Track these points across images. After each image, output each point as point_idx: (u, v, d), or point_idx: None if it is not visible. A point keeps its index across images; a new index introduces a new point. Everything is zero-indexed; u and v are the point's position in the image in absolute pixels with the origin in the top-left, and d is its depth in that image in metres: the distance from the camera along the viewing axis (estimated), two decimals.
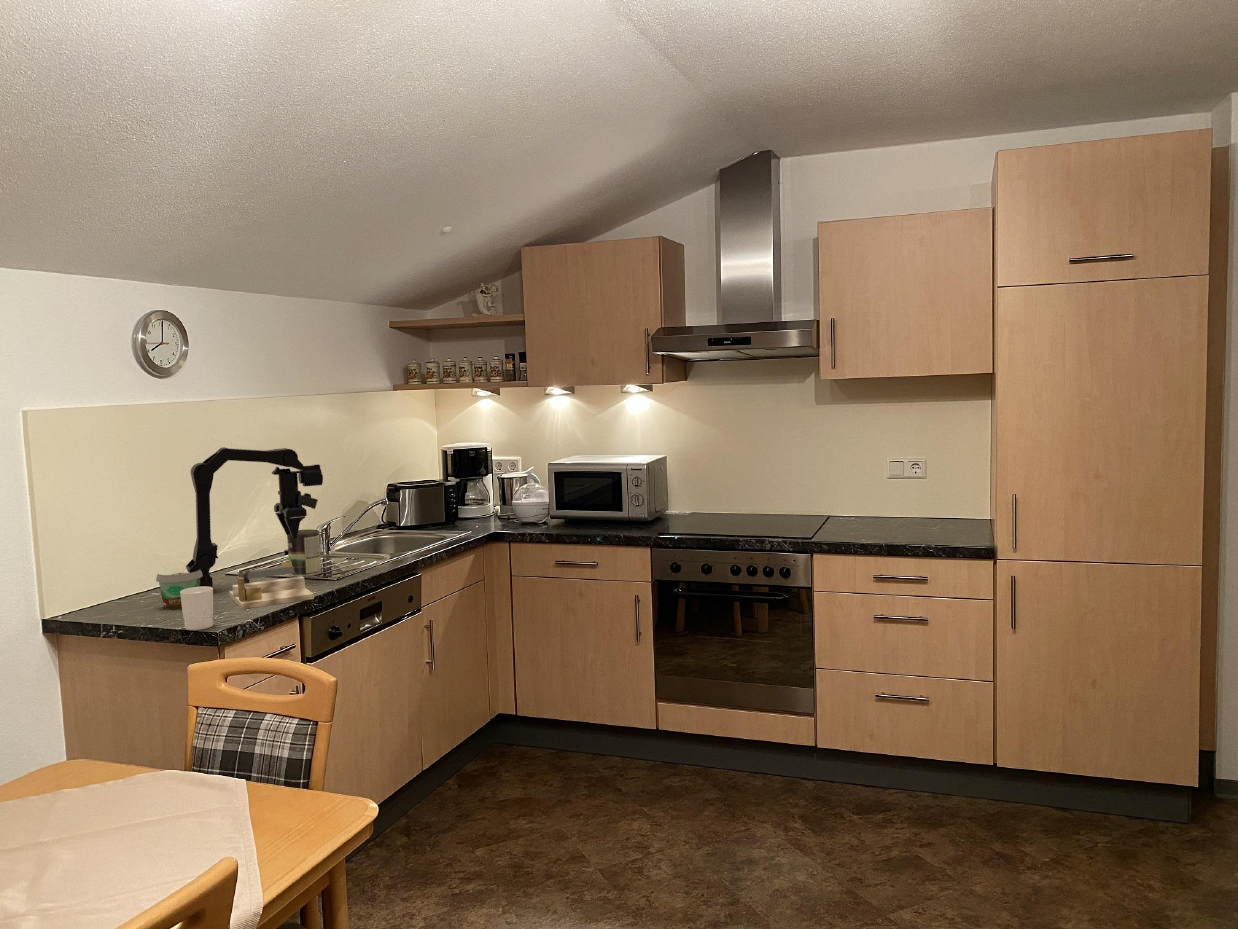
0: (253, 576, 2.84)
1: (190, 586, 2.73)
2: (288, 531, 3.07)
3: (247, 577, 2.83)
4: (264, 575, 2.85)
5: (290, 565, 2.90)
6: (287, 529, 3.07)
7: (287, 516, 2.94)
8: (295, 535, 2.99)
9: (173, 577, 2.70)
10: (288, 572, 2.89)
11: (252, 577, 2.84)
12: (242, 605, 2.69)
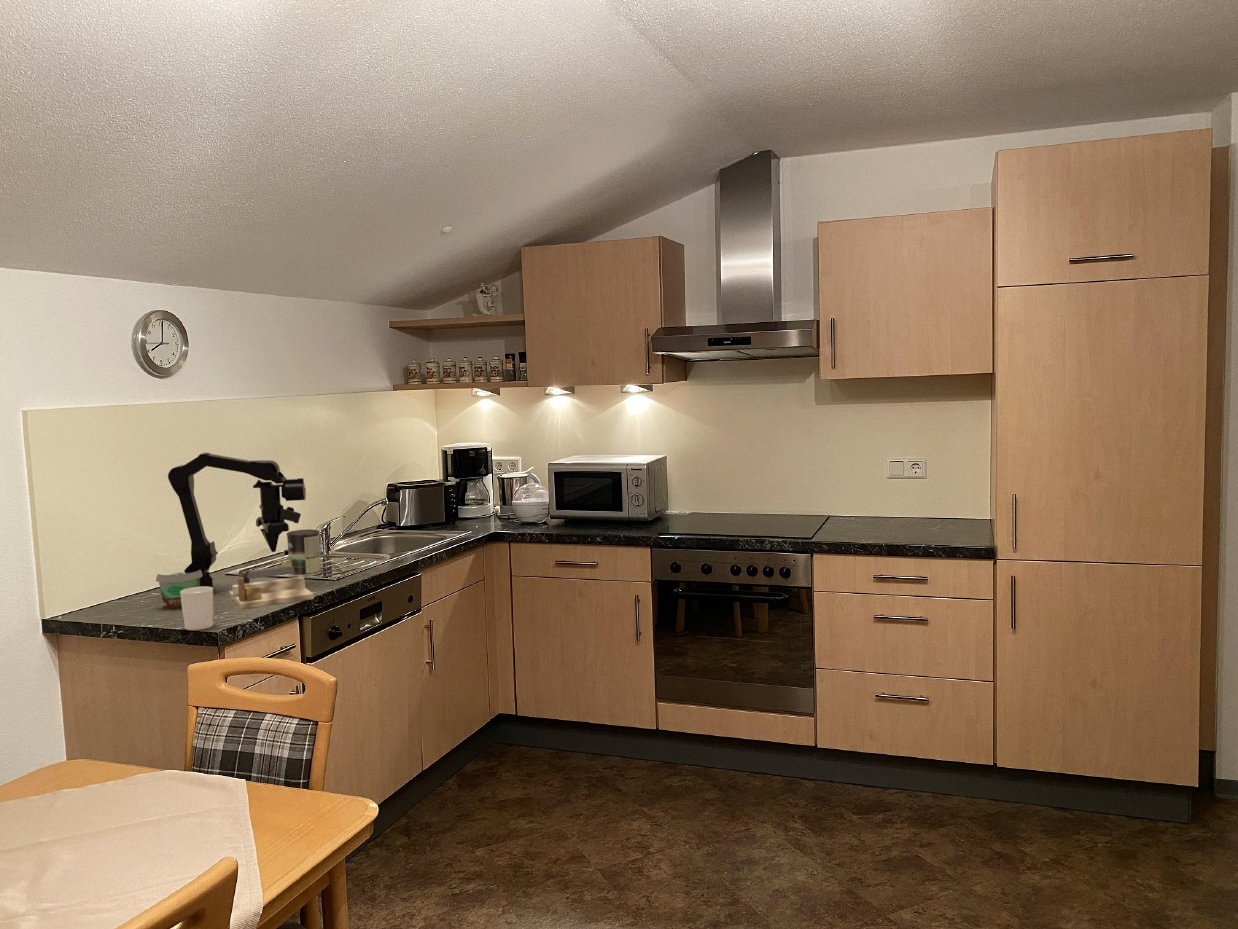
0: (253, 576, 2.84)
1: (190, 586, 2.73)
2: None
3: (247, 577, 2.83)
4: (264, 575, 2.85)
5: (290, 565, 2.90)
6: None
7: (268, 531, 2.84)
8: (274, 548, 2.94)
9: (173, 577, 2.70)
10: (288, 572, 2.89)
11: (252, 577, 2.84)
12: (242, 605, 2.69)
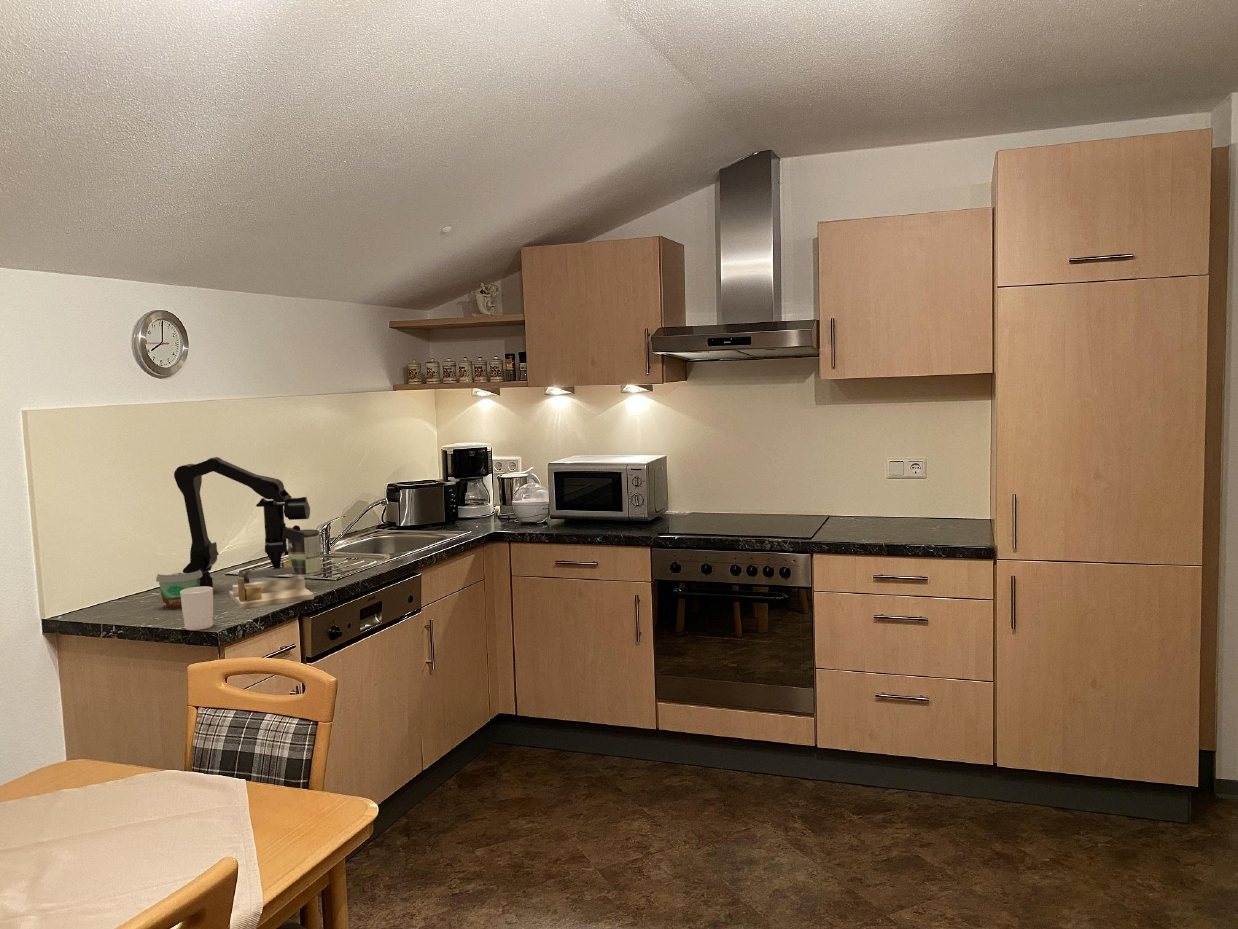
0: (253, 576, 2.84)
1: (190, 586, 2.73)
2: None
3: (247, 577, 2.83)
4: (264, 575, 2.85)
5: (290, 565, 2.90)
6: None
7: (266, 551, 2.82)
8: None
9: (173, 577, 2.70)
10: (288, 572, 2.89)
11: (252, 577, 2.84)
12: (242, 605, 2.69)
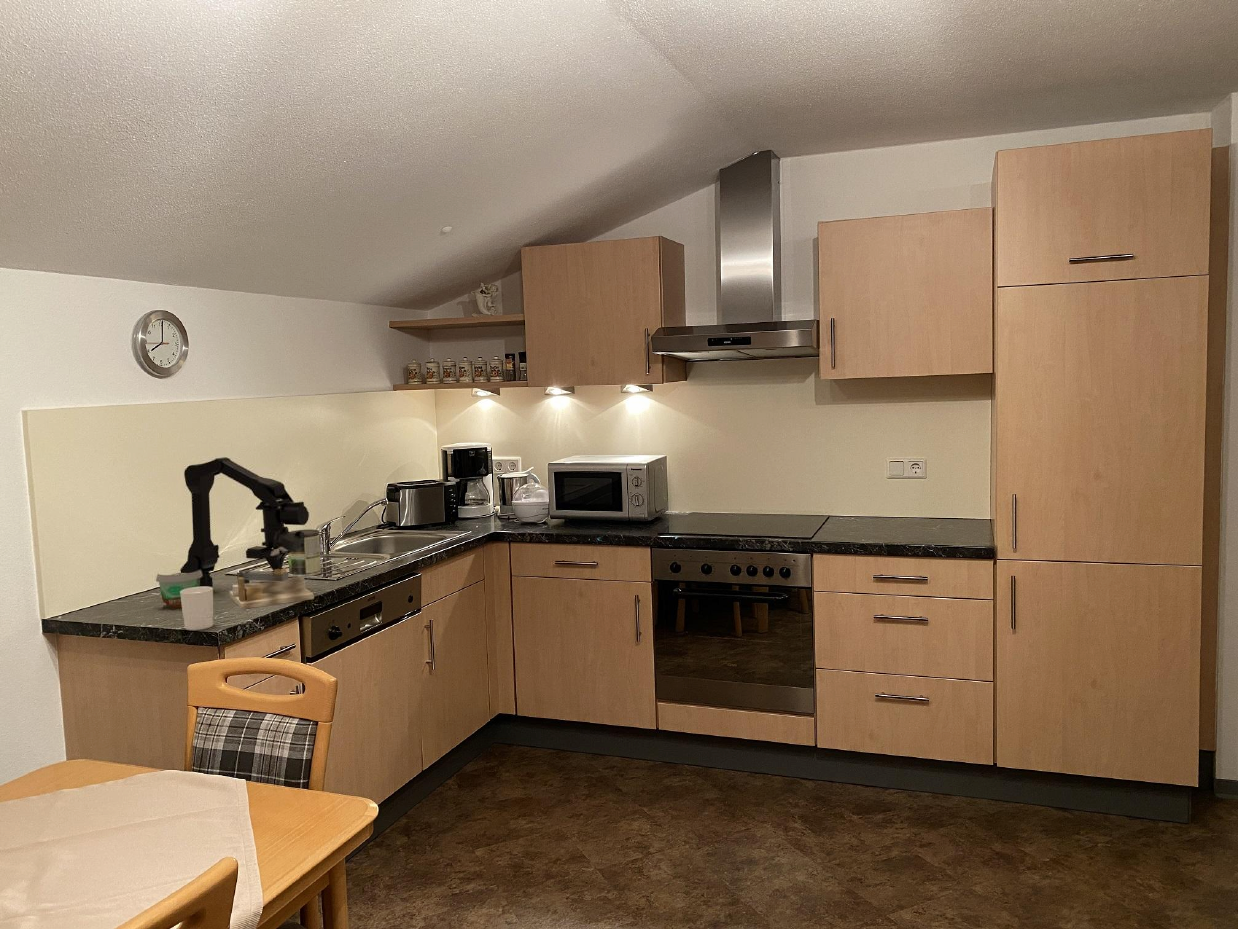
0: (248, 578, 2.82)
1: (190, 586, 2.73)
2: None
3: (242, 577, 2.82)
4: (257, 578, 2.81)
5: (280, 572, 2.79)
6: None
7: (246, 556, 2.75)
8: None
9: (173, 577, 2.70)
10: (277, 579, 2.79)
11: (247, 578, 2.82)
12: (242, 605, 2.69)
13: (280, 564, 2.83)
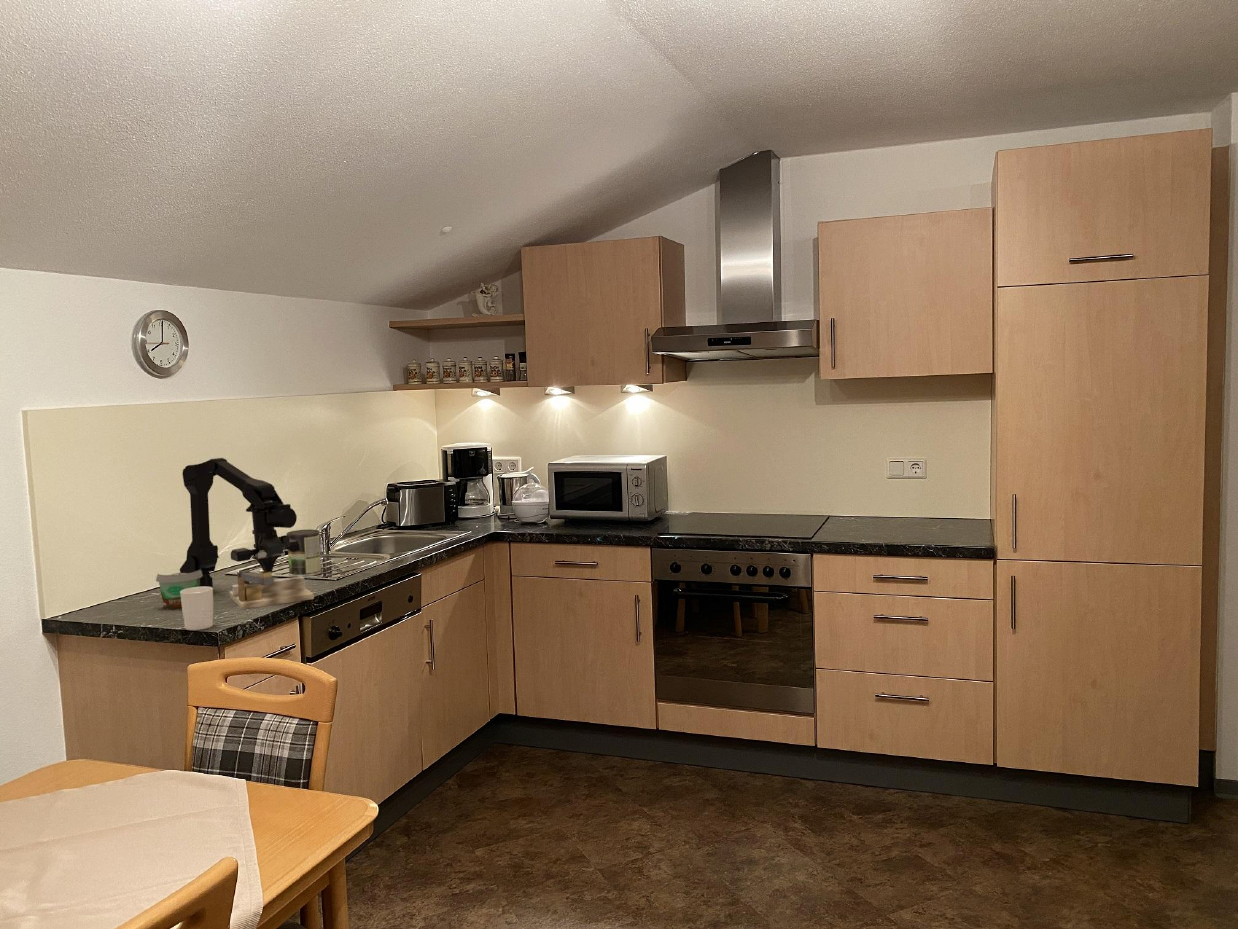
0: None
1: (190, 586, 2.73)
2: None
3: None
4: (248, 580, 2.79)
5: (263, 576, 2.74)
6: None
7: None
8: None
9: (173, 577, 2.70)
10: (261, 583, 2.75)
11: None
12: (242, 605, 2.69)
13: (269, 567, 2.78)
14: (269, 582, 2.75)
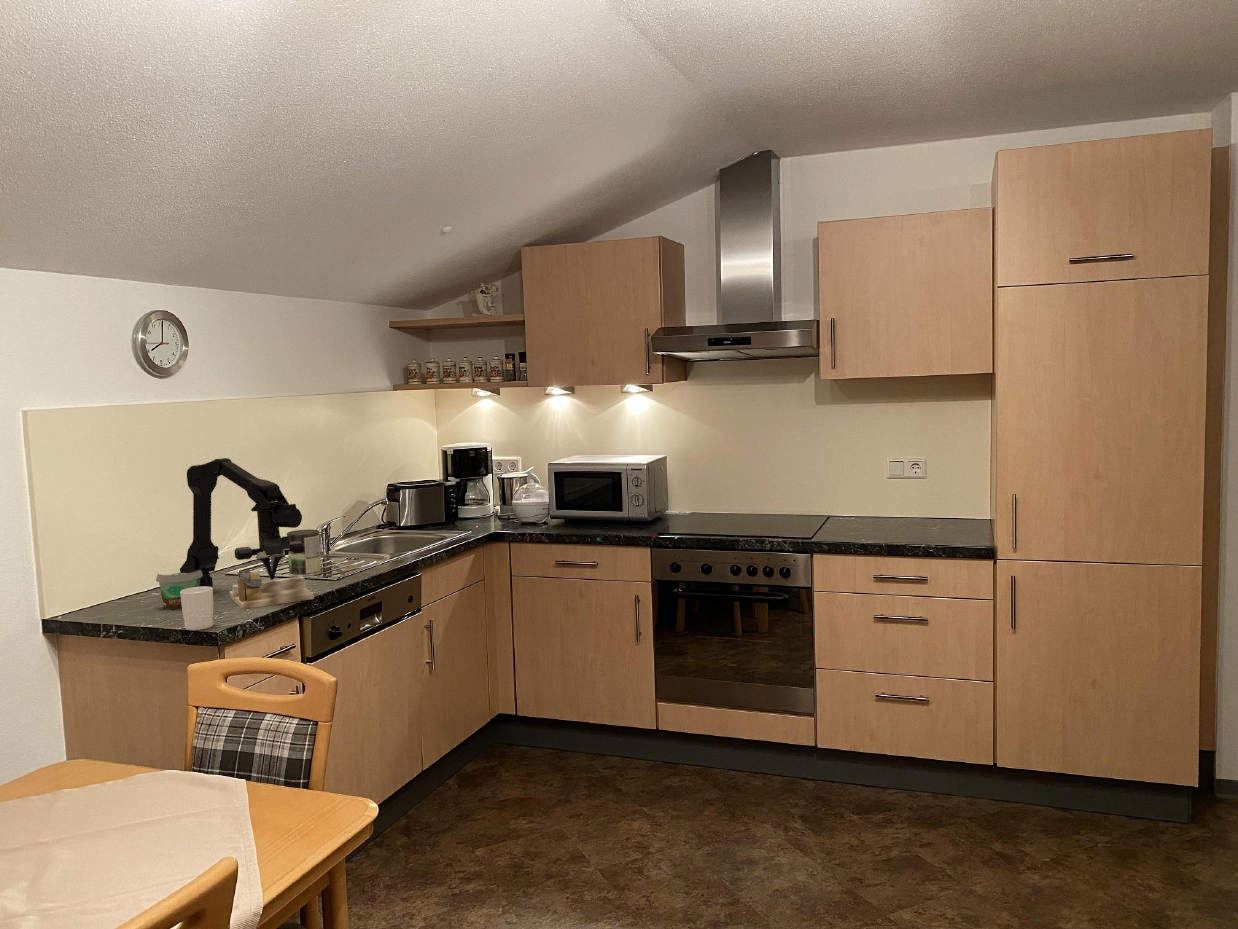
0: None
1: (190, 586, 2.73)
2: None
3: None
4: None
5: (250, 578, 2.72)
6: None
7: None
8: (269, 576, 2.78)
9: (173, 577, 2.70)
10: (249, 584, 2.73)
11: None
12: (242, 605, 2.69)
13: (273, 568, 2.77)
14: (256, 584, 2.73)
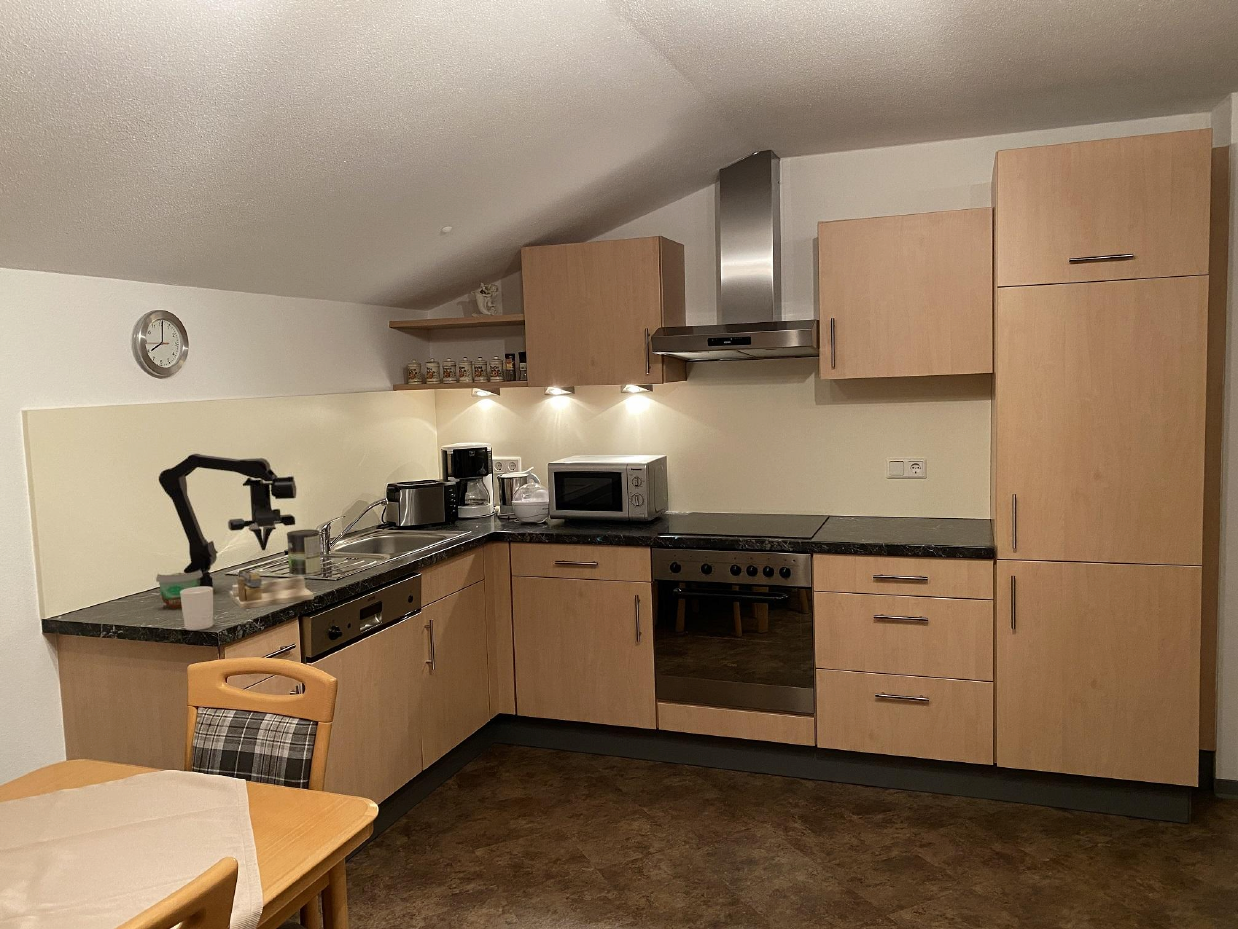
0: None
1: (190, 586, 2.73)
2: None
3: None
4: None
5: (250, 578, 2.72)
6: None
7: None
8: (261, 547, 2.92)
9: (173, 577, 2.70)
10: (249, 584, 2.73)
11: None
12: (242, 605, 2.69)
13: (264, 539, 2.91)
14: (256, 584, 2.73)
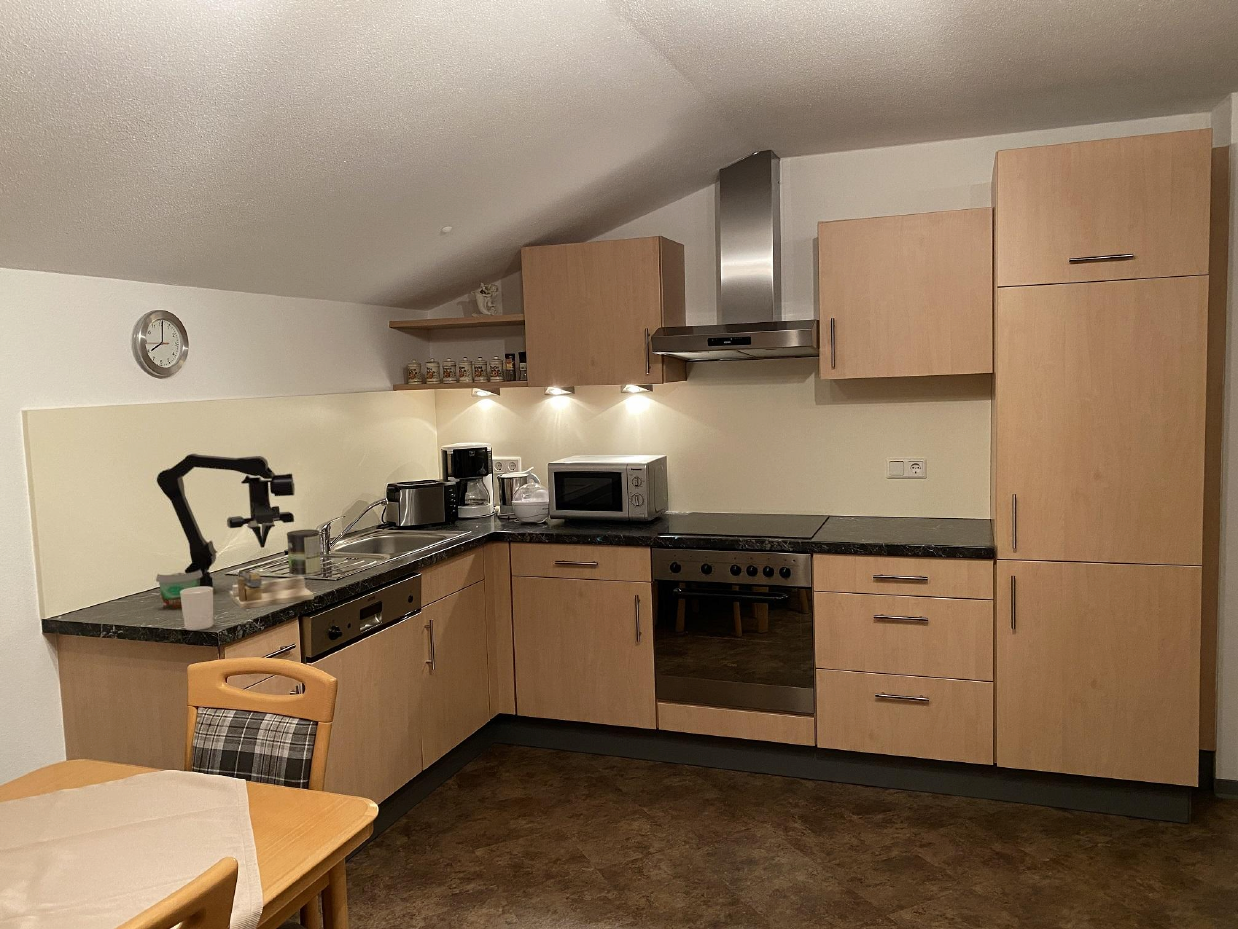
0: None
1: (190, 586, 2.73)
2: None
3: None
4: None
5: (250, 578, 2.72)
6: None
7: None
8: (260, 544, 2.93)
9: (173, 577, 2.70)
10: (249, 584, 2.73)
11: None
12: (242, 605, 2.69)
13: (263, 536, 2.93)
14: (256, 584, 2.73)
